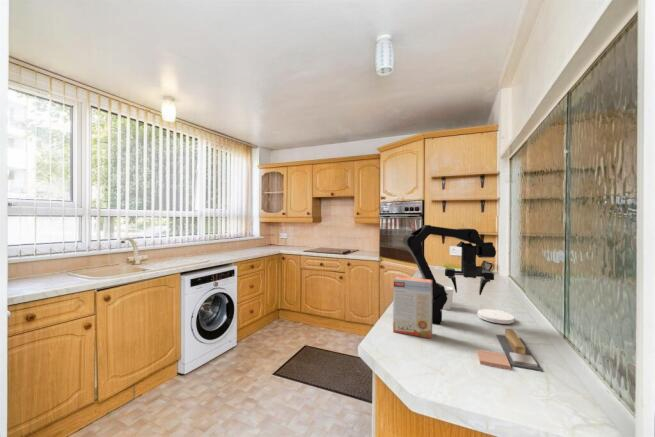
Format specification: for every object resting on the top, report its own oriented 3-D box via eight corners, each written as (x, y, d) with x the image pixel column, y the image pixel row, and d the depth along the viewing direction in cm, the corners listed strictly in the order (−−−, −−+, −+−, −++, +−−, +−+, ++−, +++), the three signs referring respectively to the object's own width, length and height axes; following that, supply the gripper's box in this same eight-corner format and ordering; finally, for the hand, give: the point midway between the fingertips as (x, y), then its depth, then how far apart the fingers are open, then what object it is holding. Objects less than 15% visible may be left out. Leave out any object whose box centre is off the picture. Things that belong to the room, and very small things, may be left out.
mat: (510, 365, 87) (510, 364, 87) (496, 335, 109) (496, 334, 109) (542, 371, 84) (542, 369, 84) (520, 339, 107) (521, 337, 107)
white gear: (478, 312, 137) (478, 307, 137) (513, 318, 130) (513, 312, 130) (476, 321, 125) (476, 315, 125) (515, 328, 118) (515, 322, 118)
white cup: (445, 311, 137) (445, 290, 137) (432, 306, 144) (432, 286, 144) (456, 309, 140) (456, 288, 140) (443, 304, 147) (443, 285, 147)
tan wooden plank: (513, 363, 88) (514, 353, 88) (499, 335, 108) (500, 327, 108) (537, 367, 86) (537, 357, 86) (518, 338, 106) (518, 330, 106)
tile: (477, 354, 95) (480, 365, 88) (477, 349, 95) (480, 360, 88) (505, 359, 92) (510, 371, 85) (505, 354, 92) (510, 366, 85)
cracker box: (432, 333, 111) (433, 279, 111) (430, 339, 105) (431, 282, 105) (395, 326, 117) (396, 275, 117) (392, 332, 111) (393, 278, 111)
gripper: (445, 258, 120) (444, 296, 120) (497, 261, 113) (496, 301, 113) (445, 255, 130) (444, 289, 130) (492, 258, 123) (491, 294, 123)
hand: (467, 293), depth 124 cm, fingers open, 9 cm apart
